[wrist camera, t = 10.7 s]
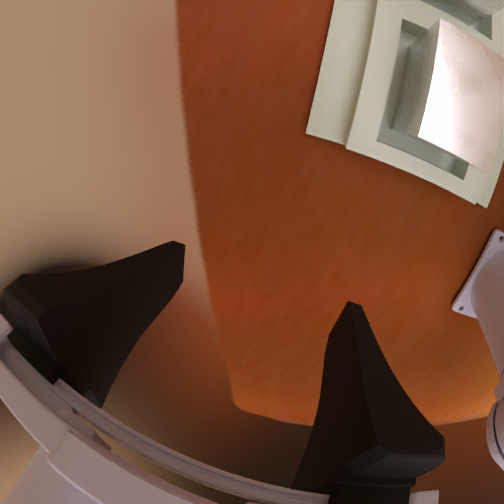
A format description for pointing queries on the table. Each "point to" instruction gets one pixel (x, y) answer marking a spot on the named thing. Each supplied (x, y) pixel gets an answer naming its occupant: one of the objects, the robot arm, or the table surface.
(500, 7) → the block
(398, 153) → the cream stepped base
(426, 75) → the block
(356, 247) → the table surface
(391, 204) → the table surface
